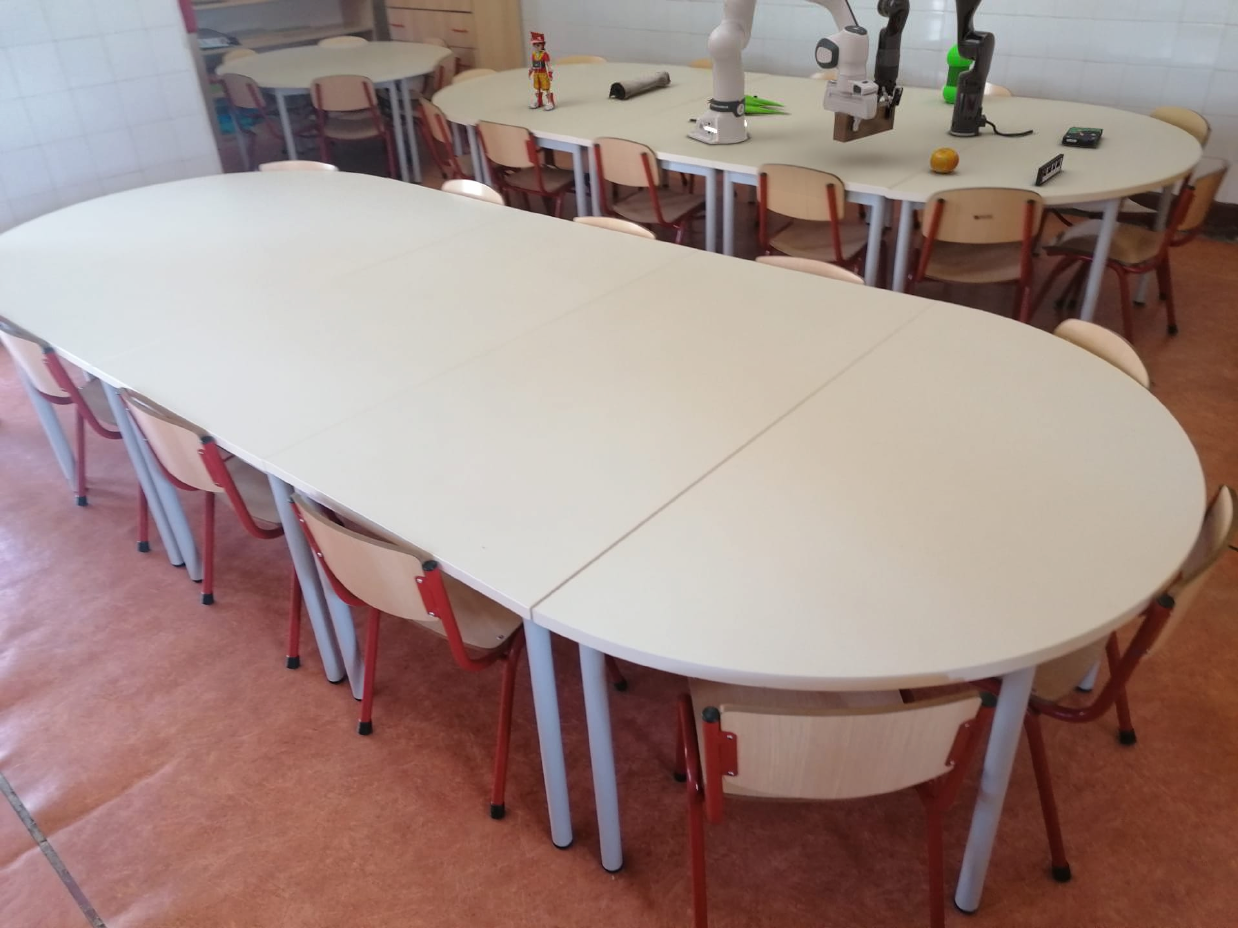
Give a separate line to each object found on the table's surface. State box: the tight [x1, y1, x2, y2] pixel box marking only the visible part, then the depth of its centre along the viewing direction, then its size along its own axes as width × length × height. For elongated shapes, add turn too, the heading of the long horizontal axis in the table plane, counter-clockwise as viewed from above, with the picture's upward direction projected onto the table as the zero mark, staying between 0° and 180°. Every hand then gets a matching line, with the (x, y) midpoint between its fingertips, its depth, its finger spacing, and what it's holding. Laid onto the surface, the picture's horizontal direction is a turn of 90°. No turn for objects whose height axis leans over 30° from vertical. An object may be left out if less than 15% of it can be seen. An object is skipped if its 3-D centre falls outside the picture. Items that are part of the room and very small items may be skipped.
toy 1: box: [527, 31, 556, 111], centre depth 374 cm, size 12×9×30 cm
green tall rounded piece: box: [942, 43, 974, 104], centre depth 348 cm, size 10×10×25 cm
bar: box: [832, 99, 897, 144], centre depth 293 cm, size 22×5×8 cm, turn 123°
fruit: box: [929, 147, 960, 174], centre depth 283 cm, size 8×8×8 cm
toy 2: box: [744, 94, 786, 114], centre depth 359 cm, size 28×5×30 cm
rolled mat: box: [608, 71, 672, 101], centre depth 395 cm, size 30×9×10 cm
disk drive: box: [1061, 126, 1104, 148], centre depth 303 cm, size 10×3×15 cm
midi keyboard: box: [1035, 153, 1065, 186], centre depth 273 cm, size 18×1×5 cm, turn 138°
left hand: (846, 128), depth 290 cm, fingers closed on bar, 5 cm apart
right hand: (881, 117), depth 297 cm, fingers closed on bar, 5 cm apart
